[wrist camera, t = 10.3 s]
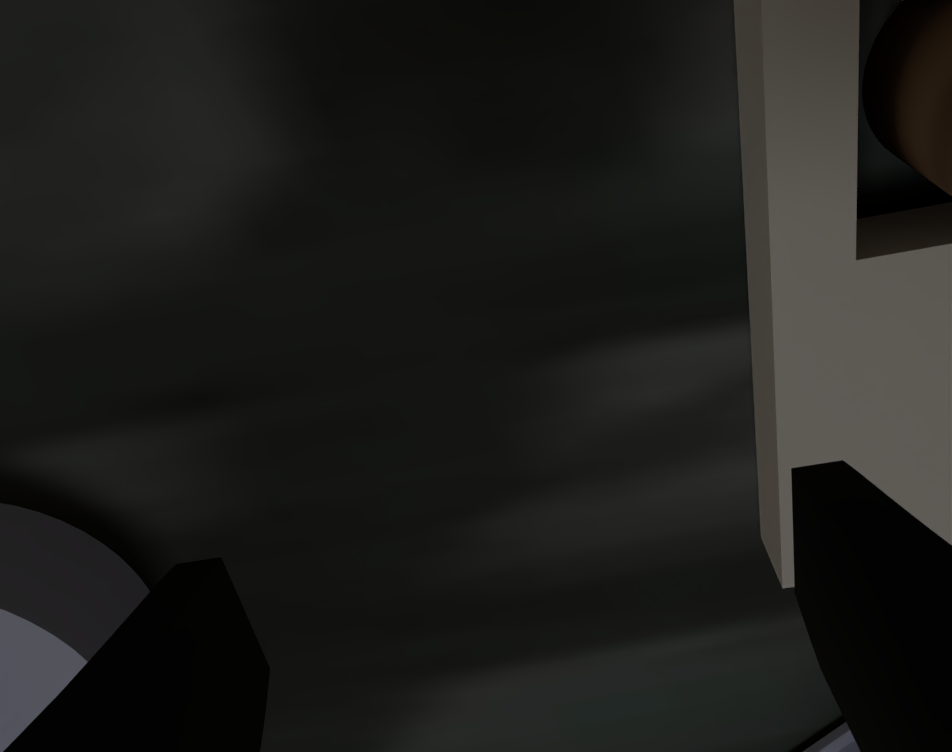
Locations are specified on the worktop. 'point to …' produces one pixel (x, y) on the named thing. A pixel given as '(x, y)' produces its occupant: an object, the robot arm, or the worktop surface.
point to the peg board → (835, 281)
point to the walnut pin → (914, 88)
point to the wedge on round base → (53, 609)
